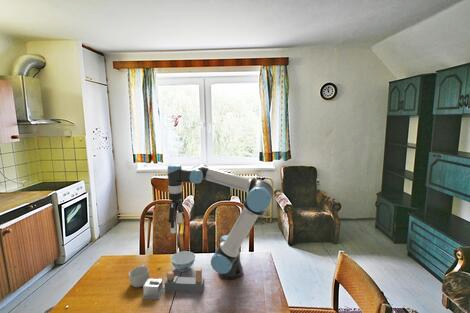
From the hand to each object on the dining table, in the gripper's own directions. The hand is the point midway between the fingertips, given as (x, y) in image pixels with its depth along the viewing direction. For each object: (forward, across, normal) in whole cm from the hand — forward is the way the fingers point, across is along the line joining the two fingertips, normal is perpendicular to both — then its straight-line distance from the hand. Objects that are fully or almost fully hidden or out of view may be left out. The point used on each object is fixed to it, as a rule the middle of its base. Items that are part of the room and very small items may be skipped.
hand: (176, 227), depth 148 cm
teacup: (+32, +5, -21) cm, 39 cm away
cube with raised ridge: (+31, +14, -10) cm, 36 cm away
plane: (+32, +9, +6) cm, 33 cm away
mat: (+32, +14, -10) cm, 36 cm away
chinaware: (+32, -10, 0) cm, 33 cm away
